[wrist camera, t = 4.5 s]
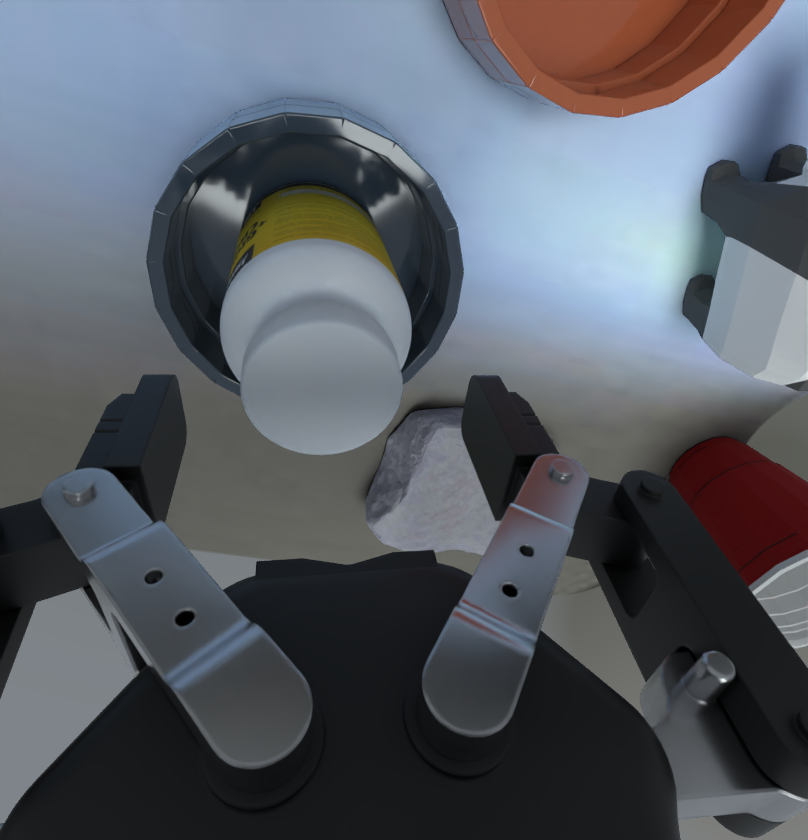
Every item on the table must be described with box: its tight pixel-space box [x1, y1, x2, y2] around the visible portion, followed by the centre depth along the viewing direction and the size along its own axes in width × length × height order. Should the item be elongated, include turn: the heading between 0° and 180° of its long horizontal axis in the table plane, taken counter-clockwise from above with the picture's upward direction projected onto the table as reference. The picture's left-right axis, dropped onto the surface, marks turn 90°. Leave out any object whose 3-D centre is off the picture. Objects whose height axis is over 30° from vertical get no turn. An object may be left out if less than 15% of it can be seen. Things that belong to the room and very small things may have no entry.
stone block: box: [366, 407, 501, 556], centre depth 33 cm, size 12×5×10 cm
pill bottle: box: [220, 182, 412, 455], centre depth 19 cm, size 6×6×12 cm
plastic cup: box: [670, 437, 808, 648], centre depth 34 cm, size 11×11×12 cm
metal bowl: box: [146, 98, 464, 397], centre depth 22 cm, size 12×12×4 cm
